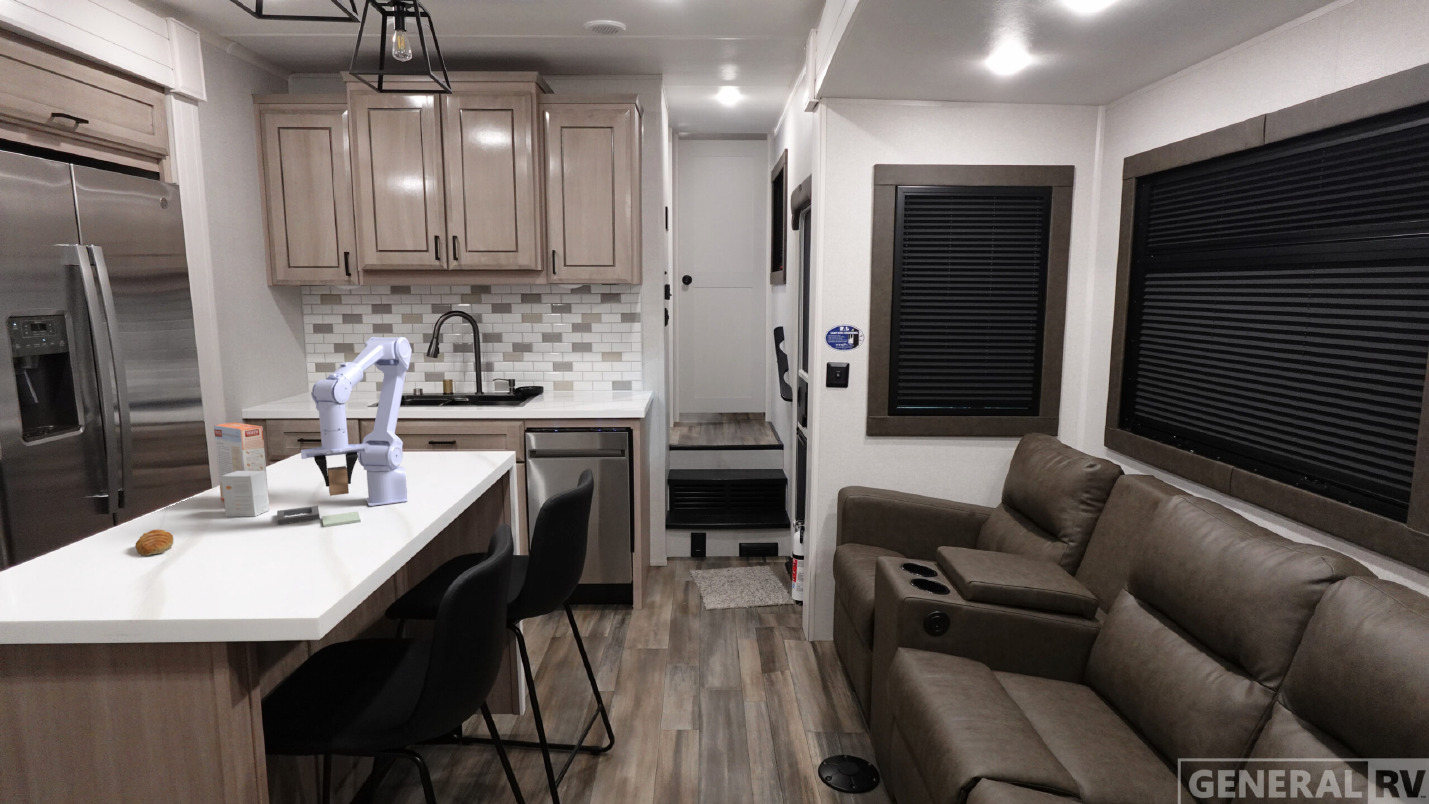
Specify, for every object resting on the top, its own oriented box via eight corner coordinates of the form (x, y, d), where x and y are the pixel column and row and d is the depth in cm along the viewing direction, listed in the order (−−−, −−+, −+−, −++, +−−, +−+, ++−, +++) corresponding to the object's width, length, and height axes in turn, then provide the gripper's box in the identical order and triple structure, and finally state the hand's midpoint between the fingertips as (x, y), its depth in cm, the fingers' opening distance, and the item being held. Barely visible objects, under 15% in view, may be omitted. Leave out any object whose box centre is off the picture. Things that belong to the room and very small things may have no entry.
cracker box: (271, 503, 198) (263, 425, 195) (246, 508, 193) (239, 429, 190) (244, 495, 206) (236, 421, 203) (220, 501, 201) (212, 424, 198)
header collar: (318, 509, 191) (317, 505, 191) (319, 518, 184) (319, 514, 184) (277, 515, 187) (277, 510, 187) (277, 524, 179) (277, 519, 179)
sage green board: (357, 513, 188) (357, 511, 188) (360, 521, 181) (360, 519, 181) (322, 518, 184) (321, 516, 184) (323, 527, 177) (323, 524, 177)
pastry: (174, 553, 160) (172, 536, 160) (134, 560, 156) (132, 543, 156) (174, 542, 168) (172, 525, 167) (136, 548, 164) (134, 531, 163)
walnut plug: (347, 489, 184) (345, 466, 183) (348, 493, 181) (346, 469, 180) (329, 491, 182) (327, 467, 181) (330, 495, 179) (328, 471, 178)
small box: (270, 510, 191) (266, 470, 190) (255, 517, 186) (251, 475, 184) (241, 510, 192) (237, 470, 191) (225, 516, 187) (220, 475, 185)
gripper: (299, 434, 172) (304, 492, 174) (368, 428, 179) (372, 483, 181) (299, 430, 178) (303, 485, 180) (365, 424, 185) (369, 477, 187)
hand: (338, 484), depth 181 cm, fingers closed on walnut plug, 4 cm apart
